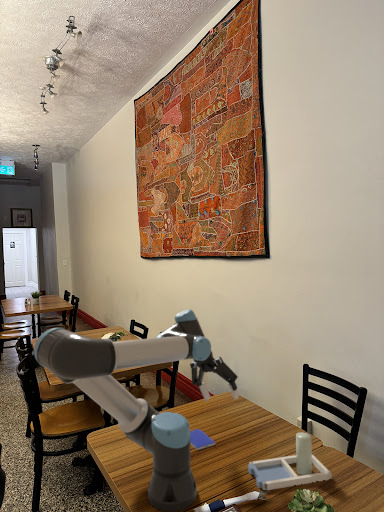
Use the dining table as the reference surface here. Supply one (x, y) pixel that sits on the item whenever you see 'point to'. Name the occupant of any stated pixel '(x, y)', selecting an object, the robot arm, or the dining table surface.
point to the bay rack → (284, 473)
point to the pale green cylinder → (303, 453)
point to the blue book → (200, 439)
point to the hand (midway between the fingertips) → (222, 398)
